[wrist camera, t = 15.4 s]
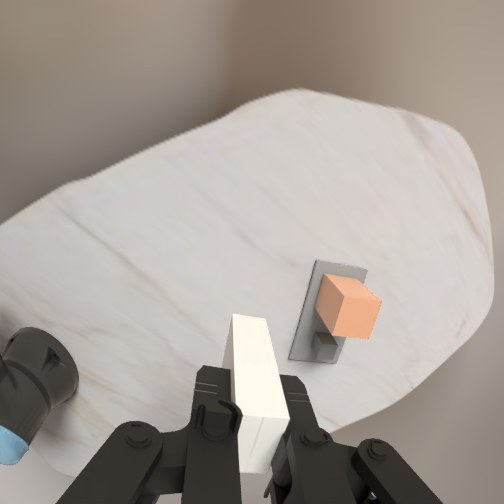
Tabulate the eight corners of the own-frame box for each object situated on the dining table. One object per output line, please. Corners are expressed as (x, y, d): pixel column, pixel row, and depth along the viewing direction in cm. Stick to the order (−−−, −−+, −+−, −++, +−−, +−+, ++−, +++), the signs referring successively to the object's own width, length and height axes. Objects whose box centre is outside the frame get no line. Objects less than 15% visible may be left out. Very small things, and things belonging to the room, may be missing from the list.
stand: (288, 357, 48) (299, 392, 40) (316, 259, 45) (335, 280, 36) (335, 361, 49) (352, 394, 40) (365, 269, 46) (393, 290, 37)
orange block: (314, 307, 45) (332, 335, 37) (324, 273, 44) (344, 295, 36) (347, 311, 46) (368, 339, 38) (357, 279, 45) (382, 301, 36)
